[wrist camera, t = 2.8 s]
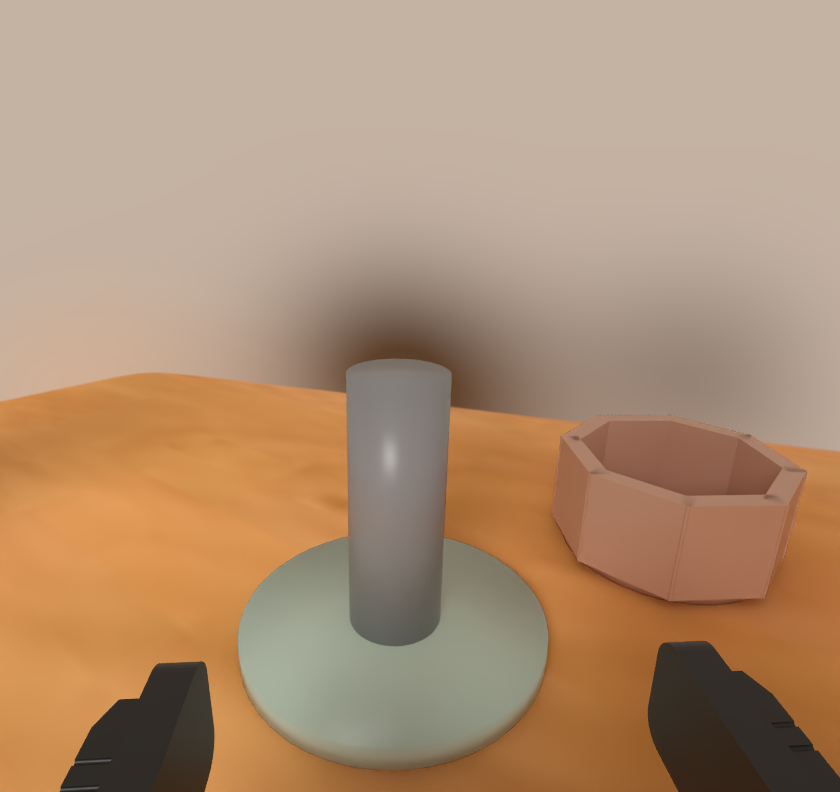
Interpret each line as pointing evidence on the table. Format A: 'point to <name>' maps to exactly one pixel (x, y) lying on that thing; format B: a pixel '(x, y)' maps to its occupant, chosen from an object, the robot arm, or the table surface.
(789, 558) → the table surface
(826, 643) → the table surface
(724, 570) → the bowl
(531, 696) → the peg on round base
